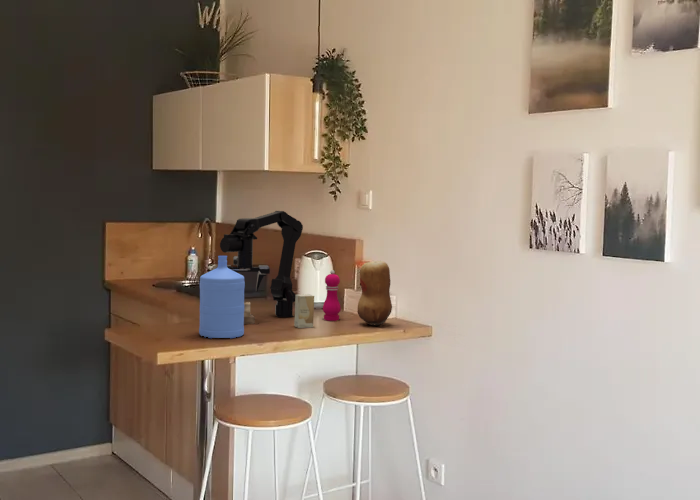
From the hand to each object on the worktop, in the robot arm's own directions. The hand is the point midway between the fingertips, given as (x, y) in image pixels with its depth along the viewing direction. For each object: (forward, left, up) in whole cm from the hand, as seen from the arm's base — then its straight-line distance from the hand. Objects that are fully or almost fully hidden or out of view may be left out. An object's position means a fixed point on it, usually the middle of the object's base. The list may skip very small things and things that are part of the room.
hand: (244, 291), depth 303 cm
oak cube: (0, +1, -9) cm, 9 cm away
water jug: (+9, +26, -12) cm, 30 cm away
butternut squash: (-50, +8, -12) cm, 52 cm away
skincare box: (-22, +11, -12) cm, 27 cm away
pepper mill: (-35, -5, -12) cm, 37 cm away
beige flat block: (0, 0, -12) cm, 12 cm away
